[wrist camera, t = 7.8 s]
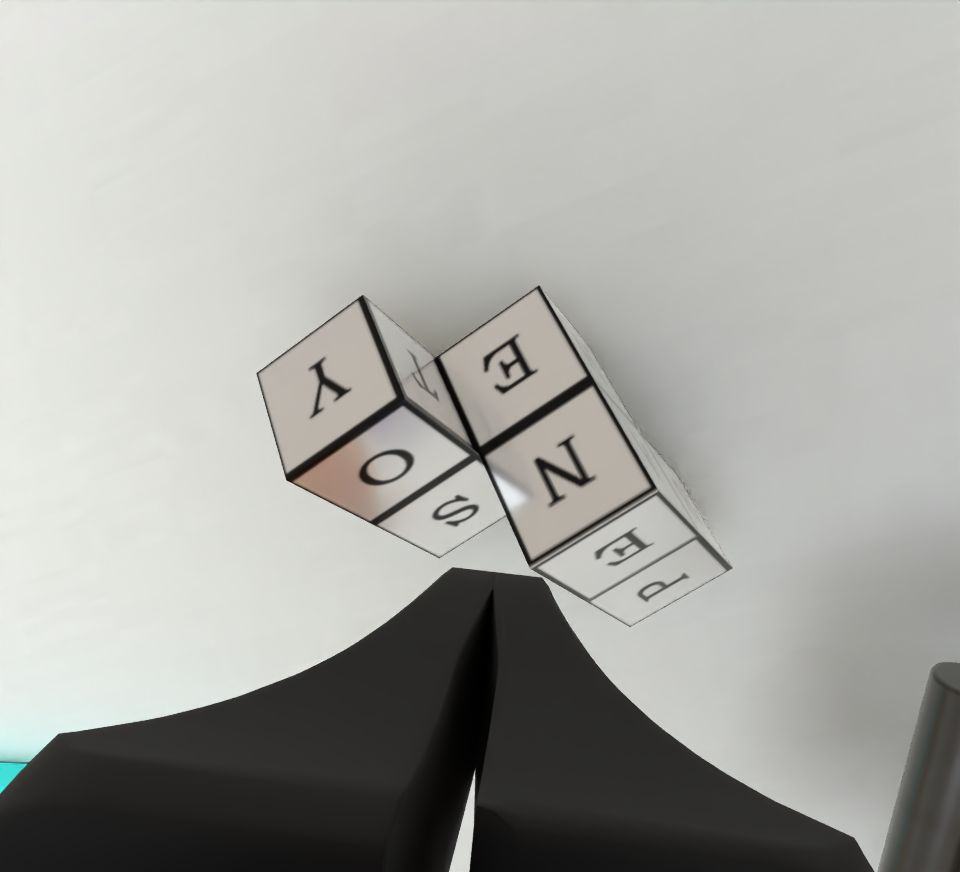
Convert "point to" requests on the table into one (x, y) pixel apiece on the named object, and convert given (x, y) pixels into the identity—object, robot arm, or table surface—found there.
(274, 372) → the building blocks
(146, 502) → the table surface
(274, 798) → the robot arm
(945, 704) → the drawer
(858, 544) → the table surface
